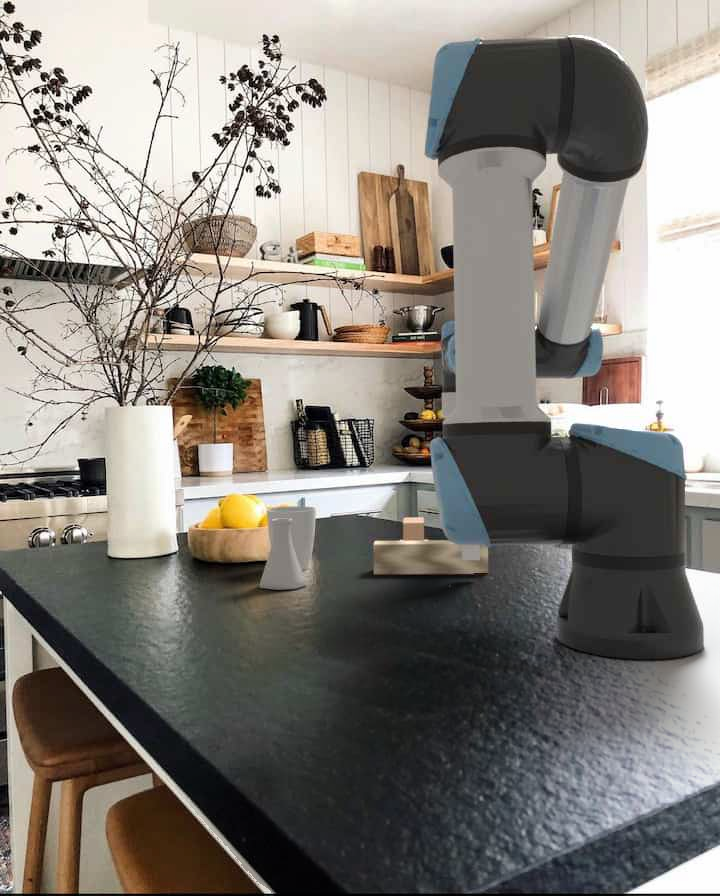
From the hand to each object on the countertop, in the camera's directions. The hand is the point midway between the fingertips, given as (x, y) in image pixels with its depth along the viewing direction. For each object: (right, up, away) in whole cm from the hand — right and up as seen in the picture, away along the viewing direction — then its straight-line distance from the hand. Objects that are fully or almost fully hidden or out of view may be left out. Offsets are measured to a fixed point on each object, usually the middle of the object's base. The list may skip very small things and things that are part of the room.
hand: (468, 552), depth 131 cm
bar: (-6, -3, 0) cm, 7 cm away
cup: (-28, -4, +5) cm, 29 cm away
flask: (-29, -4, -9) cm, 31 cm away
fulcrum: (-8, -3, +11) cm, 14 cm away
